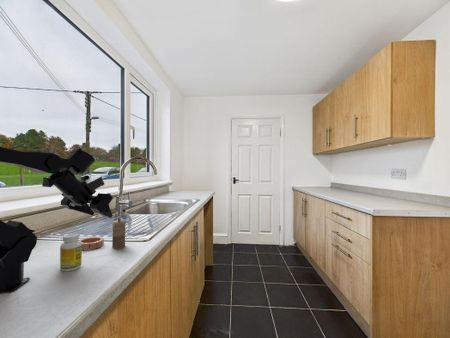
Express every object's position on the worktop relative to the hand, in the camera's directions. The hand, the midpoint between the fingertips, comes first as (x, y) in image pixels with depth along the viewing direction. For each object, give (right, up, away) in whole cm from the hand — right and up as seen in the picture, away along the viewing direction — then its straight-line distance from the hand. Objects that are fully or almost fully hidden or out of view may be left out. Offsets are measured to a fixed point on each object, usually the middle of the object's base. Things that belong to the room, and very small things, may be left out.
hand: (102, 215), depth 83 cm
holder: (-8, -13, +7) cm, 17 cm away
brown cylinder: (+3, -13, +7) cm, 15 cm away
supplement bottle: (-3, -13, -12) cm, 18 cm away
